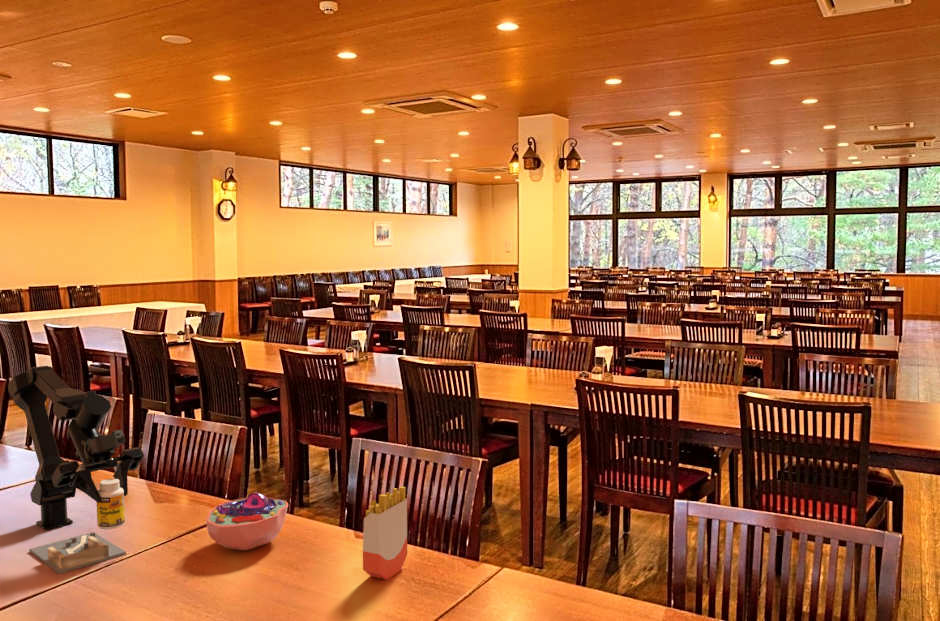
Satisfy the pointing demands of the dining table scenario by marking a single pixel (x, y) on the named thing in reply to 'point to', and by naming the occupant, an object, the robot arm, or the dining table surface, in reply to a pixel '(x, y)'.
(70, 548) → the board
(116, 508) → the supplement bottle
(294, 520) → the dining table surface
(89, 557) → the end holder
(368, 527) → the french fries container
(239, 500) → the cell model
